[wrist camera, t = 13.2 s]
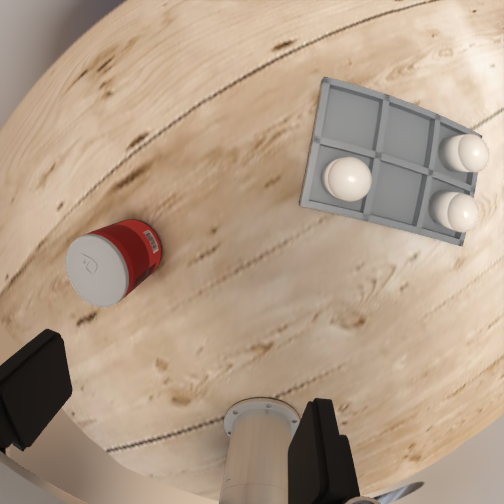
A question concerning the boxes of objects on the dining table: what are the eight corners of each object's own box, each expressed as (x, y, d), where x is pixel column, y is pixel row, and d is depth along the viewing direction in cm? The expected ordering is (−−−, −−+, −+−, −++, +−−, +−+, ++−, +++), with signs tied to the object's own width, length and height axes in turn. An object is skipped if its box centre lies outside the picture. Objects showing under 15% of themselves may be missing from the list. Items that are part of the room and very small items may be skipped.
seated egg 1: (461, 175, 32) (493, 178, 25) (435, 165, 32) (466, 165, 25) (465, 143, 31) (497, 141, 24) (440, 132, 31) (470, 126, 24)
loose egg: (353, 201, 34) (372, 208, 27) (316, 192, 34) (327, 197, 27) (361, 164, 33) (382, 162, 26) (324, 154, 33) (337, 150, 26)
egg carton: (454, 243, 35) (462, 246, 33) (298, 204, 35) (300, 206, 33) (474, 136, 31) (482, 135, 29) (321, 81, 31) (324, 76, 29)
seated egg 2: (450, 228, 34) (481, 239, 27) (424, 220, 34) (453, 231, 27) (457, 195, 33) (489, 201, 26) (431, 186, 33) (462, 190, 26)
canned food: (120, 209, 37) (72, 222, 26) (172, 233, 37) (135, 256, 27) (105, 259, 39) (59, 286, 28) (153, 284, 39) (117, 320, 29)
